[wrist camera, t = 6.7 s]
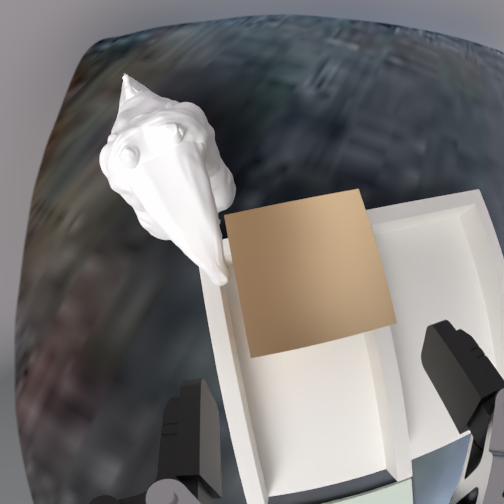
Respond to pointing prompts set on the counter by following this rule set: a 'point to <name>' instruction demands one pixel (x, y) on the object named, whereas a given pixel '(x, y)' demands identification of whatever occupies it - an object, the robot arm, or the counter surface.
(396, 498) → the sage mat
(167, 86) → the counter surface
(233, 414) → the tray
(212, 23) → the counter surface
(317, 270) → the oak block
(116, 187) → the dinosaur statue
